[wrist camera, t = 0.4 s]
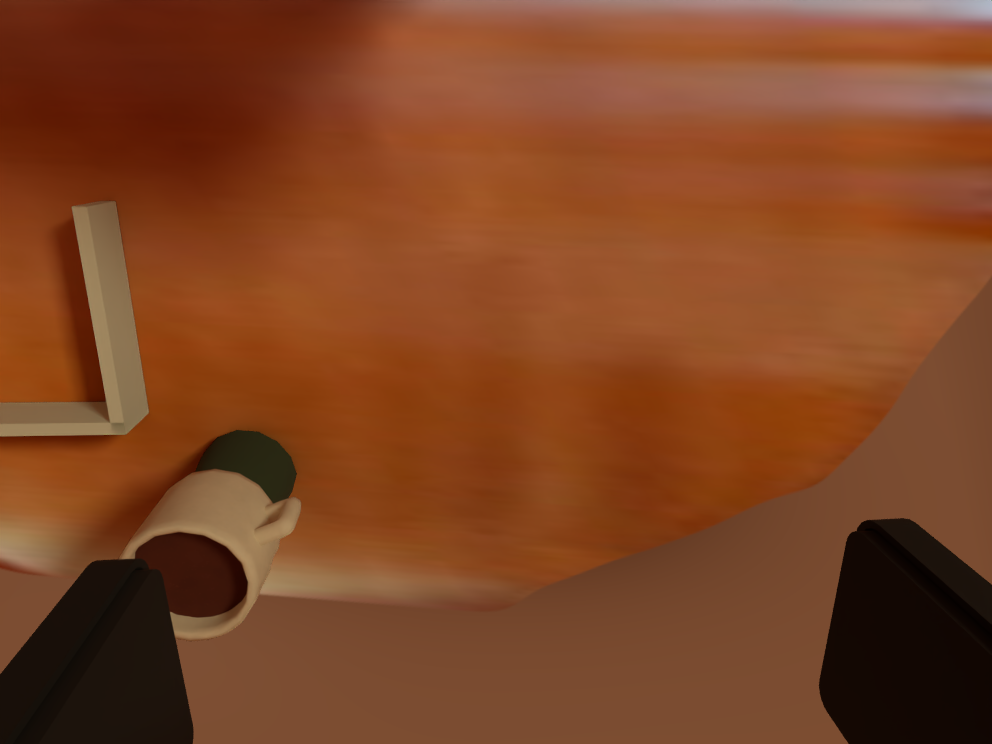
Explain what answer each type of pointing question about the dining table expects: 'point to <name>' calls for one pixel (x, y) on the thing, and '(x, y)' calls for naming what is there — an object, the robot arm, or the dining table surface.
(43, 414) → the corral
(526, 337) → the dining table surface
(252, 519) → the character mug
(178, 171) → the dining table surface
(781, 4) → the dining table surface
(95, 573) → the robot arm
